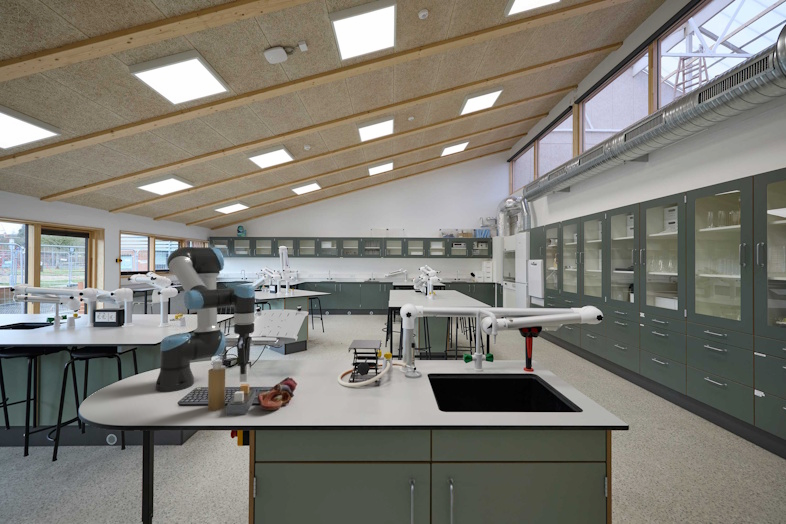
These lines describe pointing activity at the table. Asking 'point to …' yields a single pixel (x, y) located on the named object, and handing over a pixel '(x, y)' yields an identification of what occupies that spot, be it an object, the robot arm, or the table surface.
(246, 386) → the paddle
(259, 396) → the anatomical model
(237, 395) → the paddle
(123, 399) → the table surface
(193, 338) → the robot arm
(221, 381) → the amber pump bottle
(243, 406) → the breaker strip
